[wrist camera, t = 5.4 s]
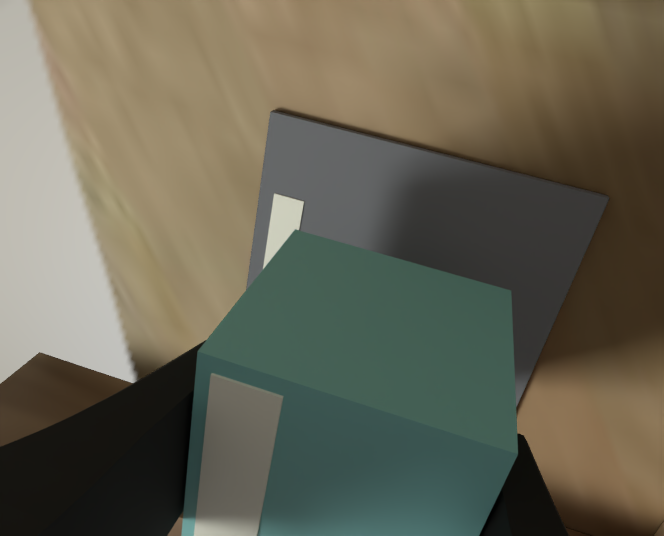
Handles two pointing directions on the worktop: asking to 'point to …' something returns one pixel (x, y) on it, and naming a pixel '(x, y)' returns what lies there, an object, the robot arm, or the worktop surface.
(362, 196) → the mat
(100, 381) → the wooden bar
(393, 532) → the cube
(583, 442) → the worktop surface
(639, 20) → the worktop surface
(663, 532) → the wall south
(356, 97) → the worktop surface
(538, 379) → the worktop surface
